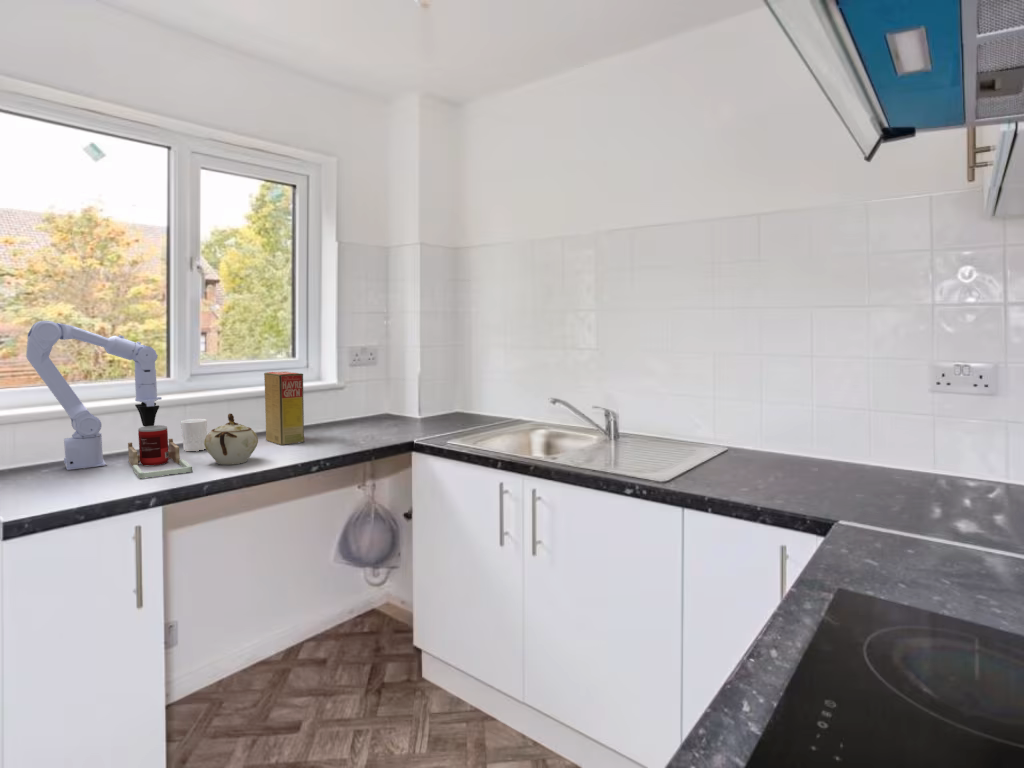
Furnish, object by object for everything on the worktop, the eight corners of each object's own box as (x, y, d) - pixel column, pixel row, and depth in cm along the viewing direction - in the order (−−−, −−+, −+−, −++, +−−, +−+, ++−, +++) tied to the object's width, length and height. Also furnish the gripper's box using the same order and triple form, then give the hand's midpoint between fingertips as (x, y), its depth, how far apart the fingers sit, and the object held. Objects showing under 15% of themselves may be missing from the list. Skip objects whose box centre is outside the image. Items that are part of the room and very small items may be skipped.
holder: (134, 468, 178) (133, 448, 178) (129, 462, 187) (127, 442, 186) (180, 463, 186) (179, 443, 185) (173, 457, 194) (172, 438, 194)
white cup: (188, 453, 200) (187, 423, 199) (177, 450, 205) (176, 420, 204) (212, 449, 206) (211, 420, 205) (201, 446, 211) (199, 418, 210)
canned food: (162, 459, 191) (161, 424, 190) (173, 462, 186) (171, 427, 185) (135, 463, 186) (133, 427, 185) (146, 467, 181) (144, 430, 179)
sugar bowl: (217, 456, 196) (214, 409, 195) (265, 454, 199) (264, 409, 197) (195, 470, 177) (192, 419, 175) (249, 468, 179) (247, 418, 178)
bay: (139, 479, 166) (139, 473, 166) (133, 470, 176) (132, 465, 176) (192, 472, 174) (192, 467, 174) (183, 464, 185) (183, 459, 184)
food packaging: (306, 442, 220) (304, 373, 218) (280, 445, 213) (278, 374, 211) (289, 437, 229) (287, 371, 227) (264, 440, 223) (262, 372, 220)
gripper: (164, 385, 188) (166, 428, 189) (156, 381, 199) (158, 422, 200) (138, 386, 183) (140, 431, 184) (131, 382, 194) (133, 424, 196)
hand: (148, 426), depth 192 cm, fingers open, 4 cm apart
